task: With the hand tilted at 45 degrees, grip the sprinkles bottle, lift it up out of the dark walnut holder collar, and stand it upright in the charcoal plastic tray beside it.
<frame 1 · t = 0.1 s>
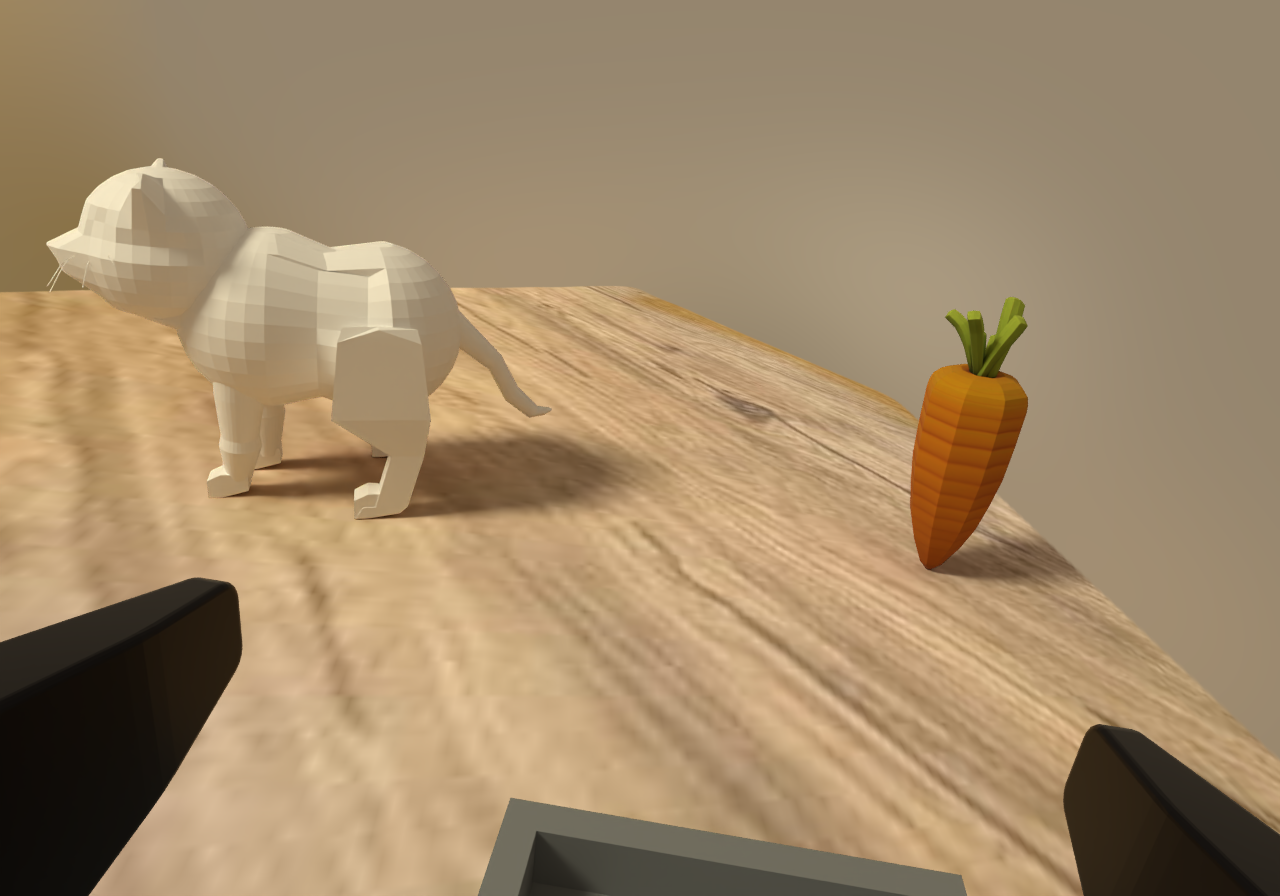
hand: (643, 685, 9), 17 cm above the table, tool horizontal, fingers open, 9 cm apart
cat figurine: (331, 482, 48), on the table
carrot: (927, 571, 46), on the table
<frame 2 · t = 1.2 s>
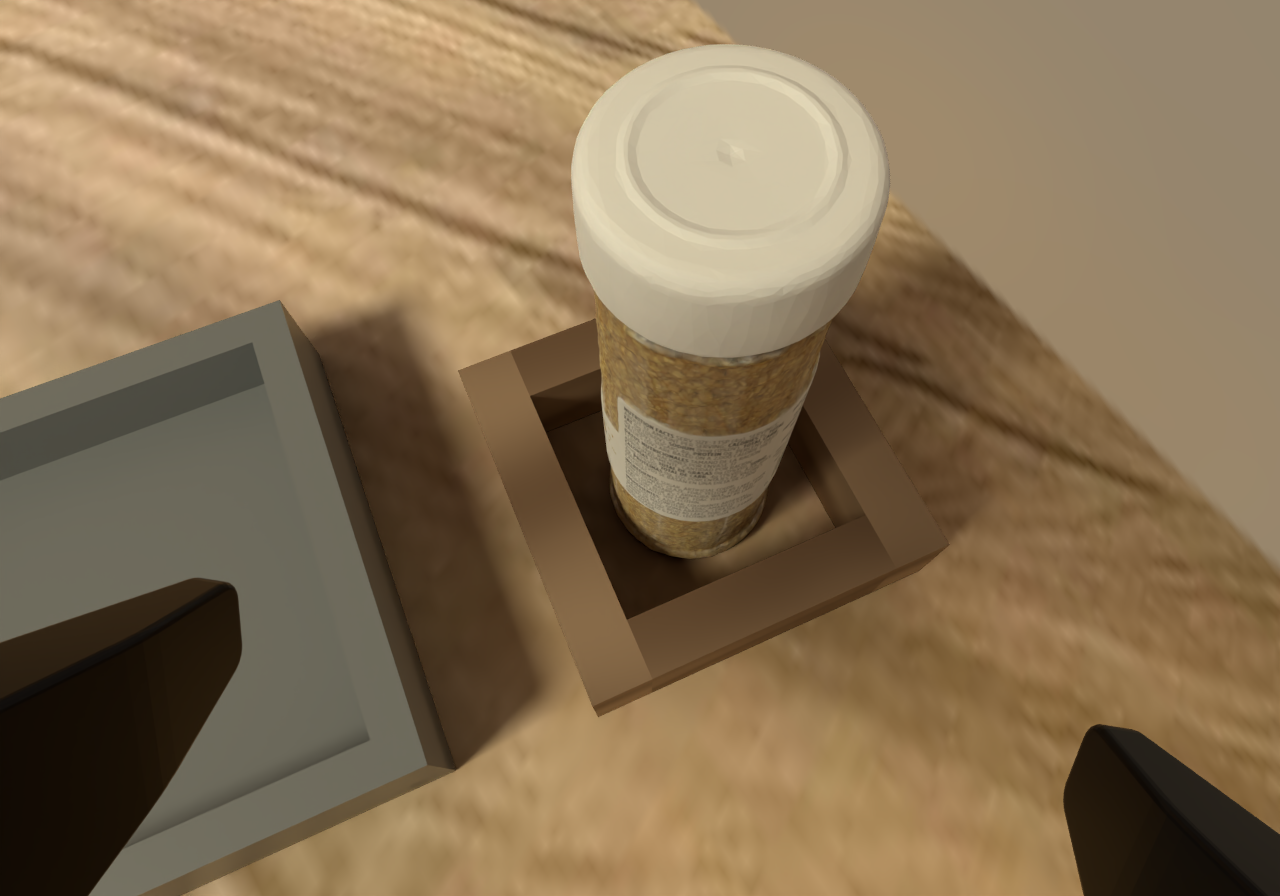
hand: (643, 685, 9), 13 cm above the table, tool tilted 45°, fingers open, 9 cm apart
holder collar: (688, 487, 24), on the table
tray: (146, 636, 22), on the table
sprinkles bottle: (687, 489, 24), resting in holder collar
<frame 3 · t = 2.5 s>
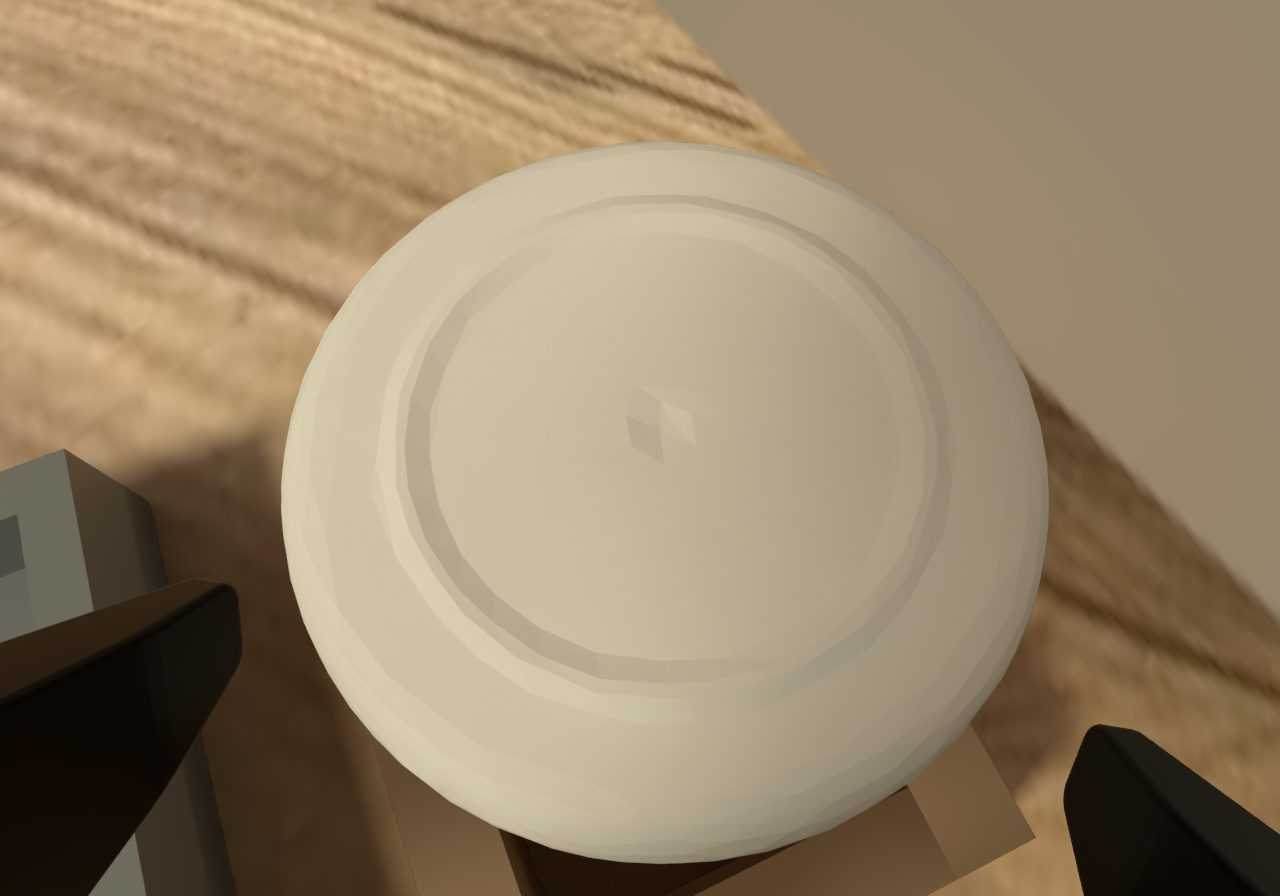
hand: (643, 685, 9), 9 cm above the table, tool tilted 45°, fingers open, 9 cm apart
holder collar: (650, 702, 17), on the table
sprinkles bottle: (650, 703, 17), resting in holder collar
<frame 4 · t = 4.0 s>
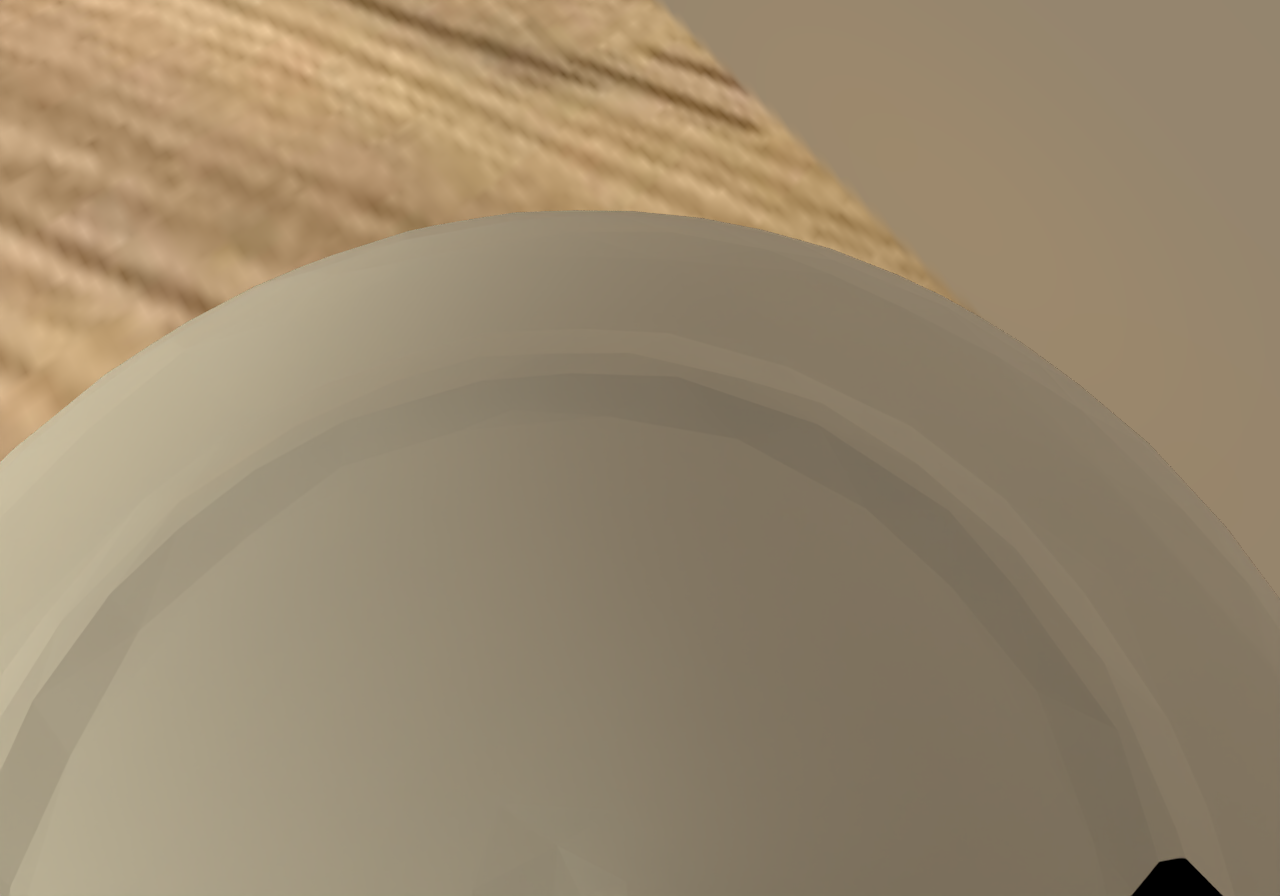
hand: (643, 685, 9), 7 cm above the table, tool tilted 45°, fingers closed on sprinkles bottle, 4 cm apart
sprinkles bottle: (633, 818, 15), resting in holder collar, touching gripper
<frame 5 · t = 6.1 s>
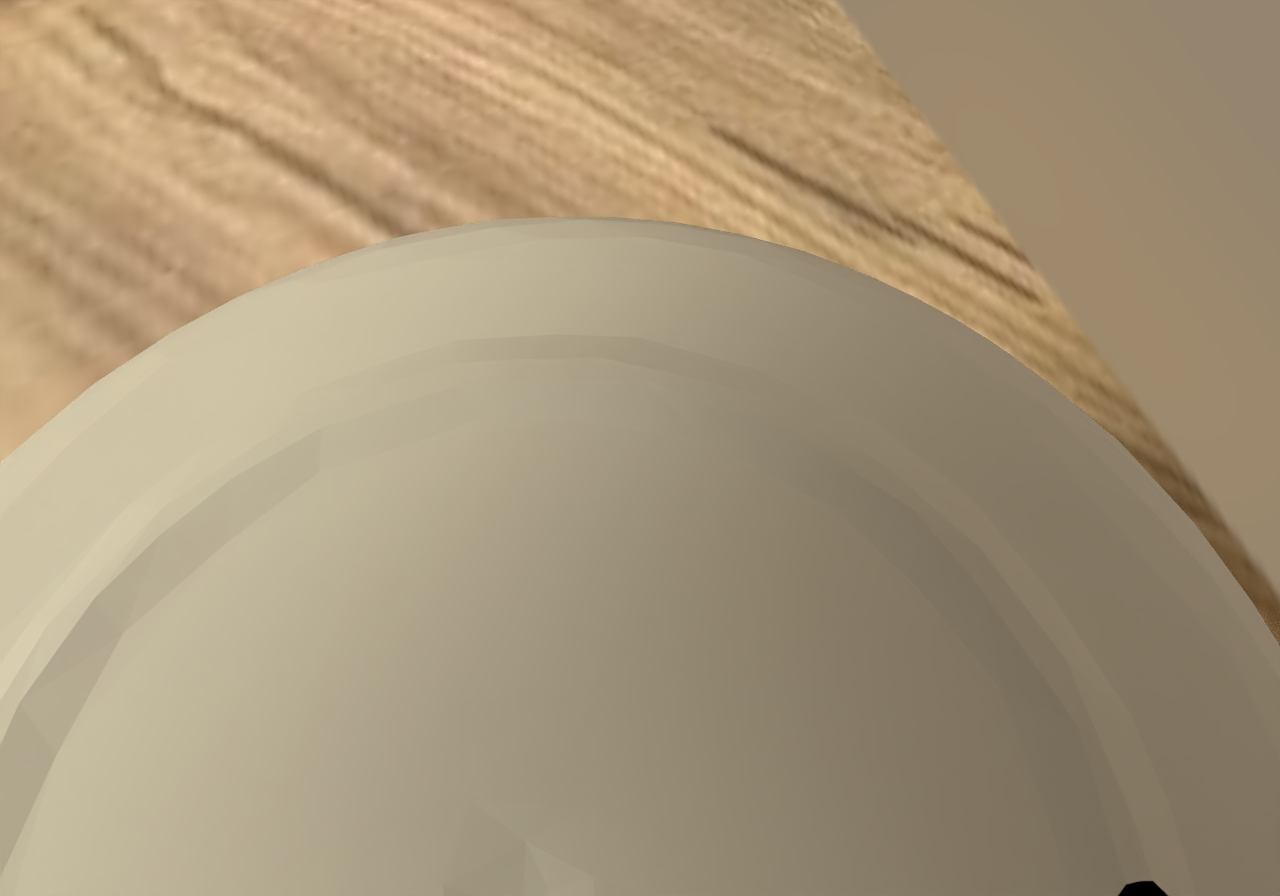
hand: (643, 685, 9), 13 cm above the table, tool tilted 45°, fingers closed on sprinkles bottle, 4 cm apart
sprinkles bottle: (644, 816, 15), point 6 cm above the table, touching gripper
when the fingers open (9 cm above the table, at t = 8.2 s): sprinkles bottle drops 1 cm, resting on tray.
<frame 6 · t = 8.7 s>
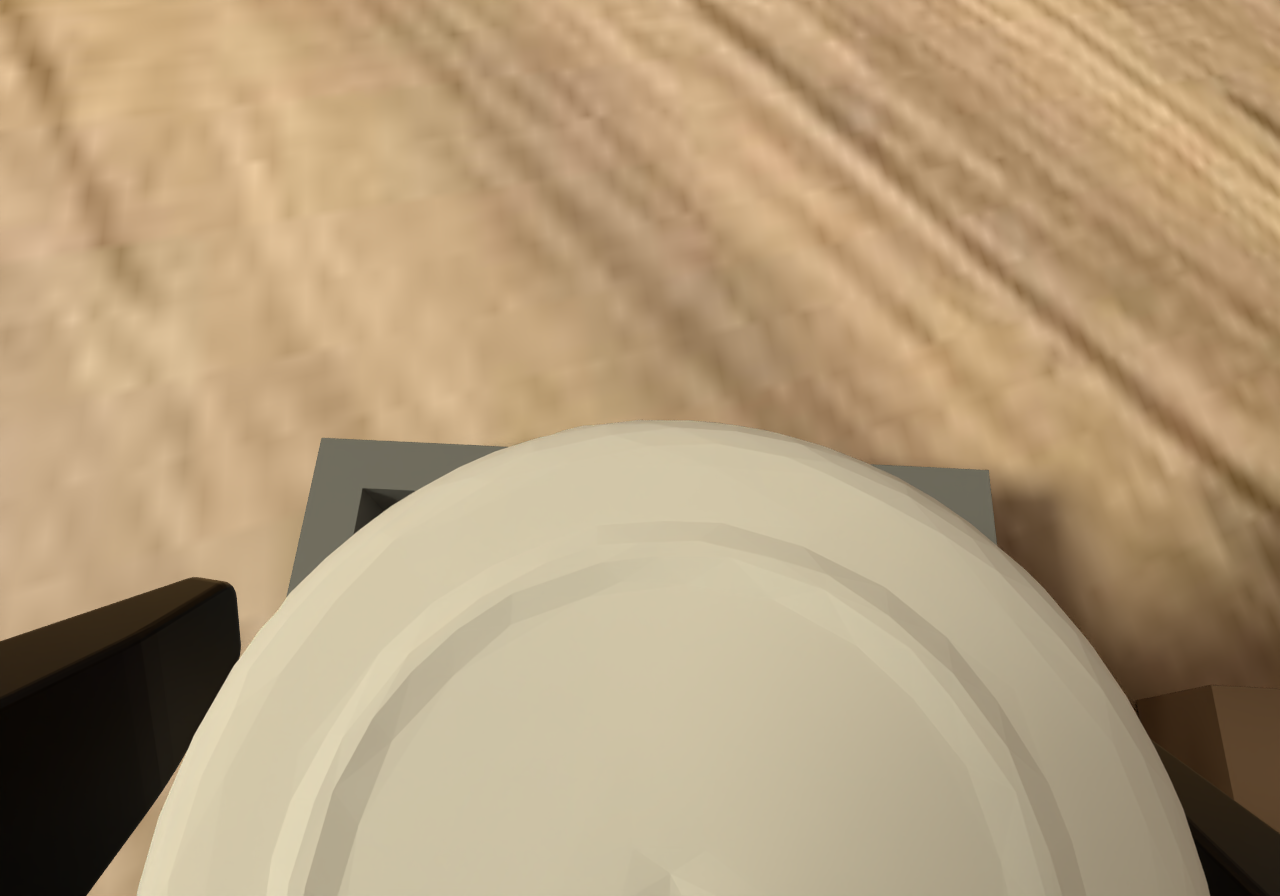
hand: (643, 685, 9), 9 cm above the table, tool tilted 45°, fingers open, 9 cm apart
tray: (634, 815, 17), on the table
sprinkles bottle: (644, 825, 16), point 1 cm above the table, touching tray
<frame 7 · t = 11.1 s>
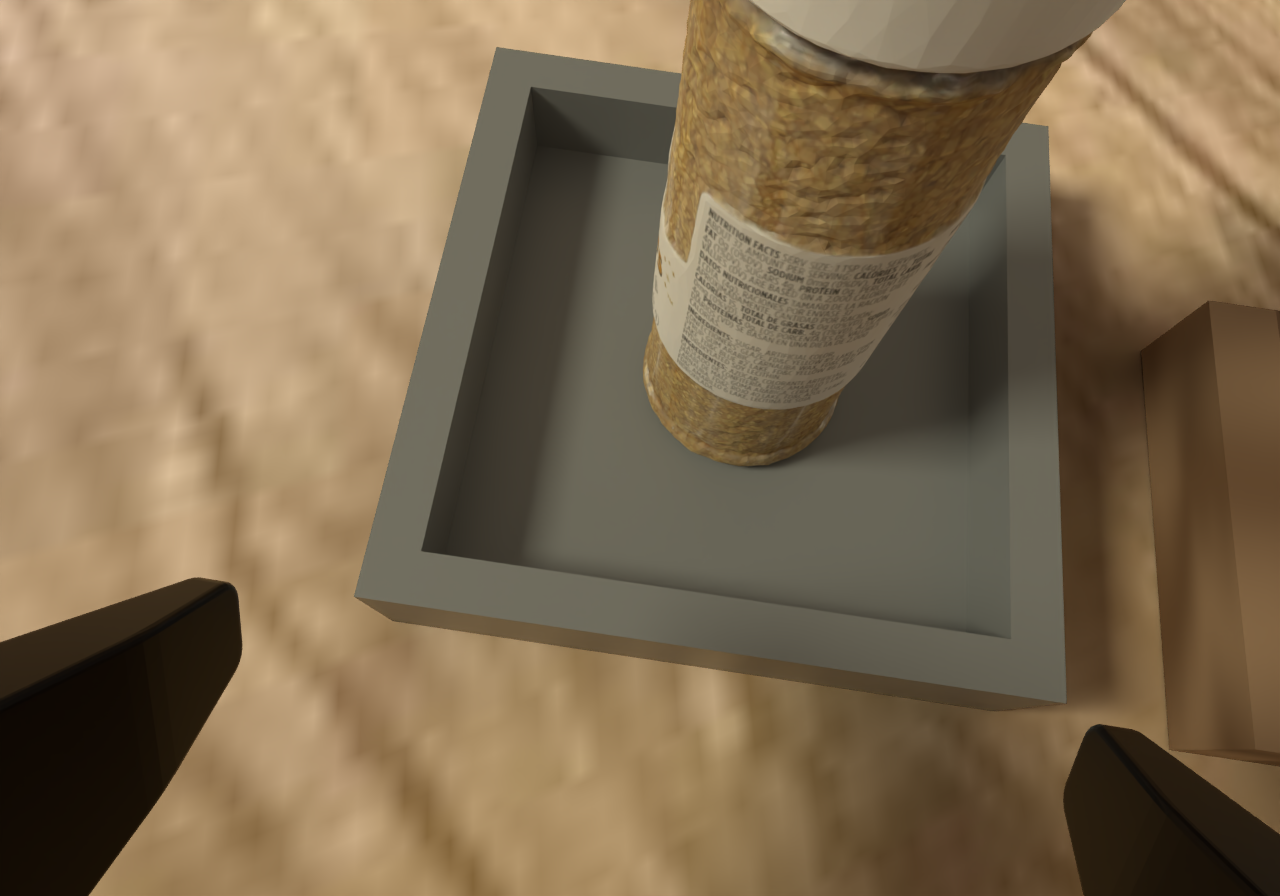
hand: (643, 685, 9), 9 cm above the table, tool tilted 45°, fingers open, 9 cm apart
tray: (724, 390, 20), on the table
sprinkles bottle: (738, 383, 19), point 1 cm above the table, touching tray
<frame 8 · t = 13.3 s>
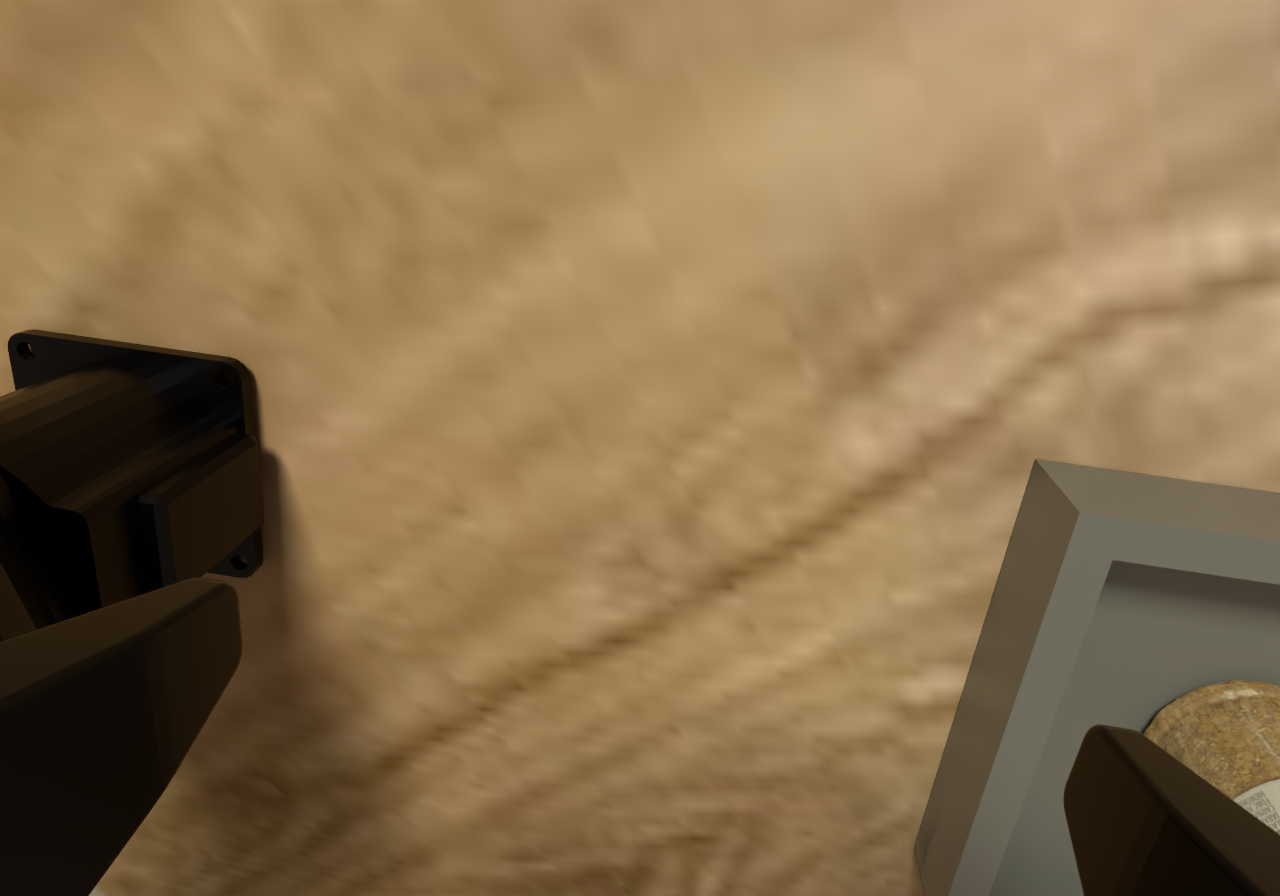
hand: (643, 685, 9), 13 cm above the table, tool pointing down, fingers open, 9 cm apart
tray: (1211, 712, 23), on the table
sprinkles bottle: (1217, 738, 22), point 1 cm above the table, touching tray
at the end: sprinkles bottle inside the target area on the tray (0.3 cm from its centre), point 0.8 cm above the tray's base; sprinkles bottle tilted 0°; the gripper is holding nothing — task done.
